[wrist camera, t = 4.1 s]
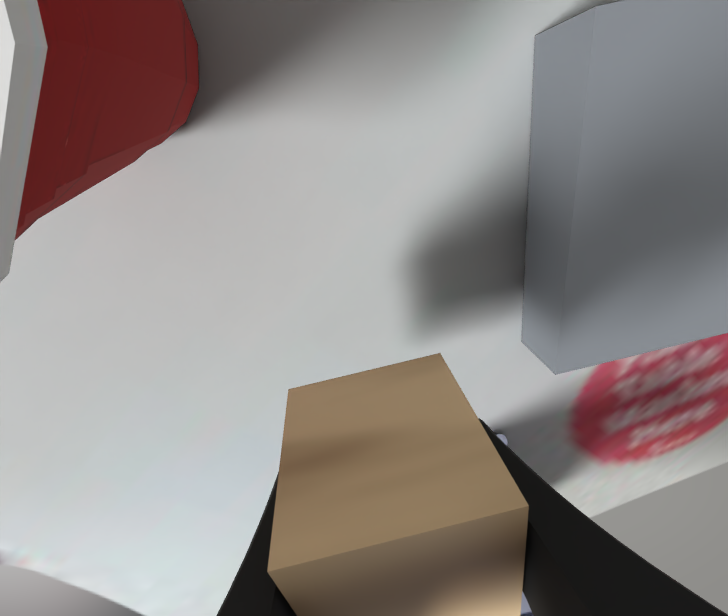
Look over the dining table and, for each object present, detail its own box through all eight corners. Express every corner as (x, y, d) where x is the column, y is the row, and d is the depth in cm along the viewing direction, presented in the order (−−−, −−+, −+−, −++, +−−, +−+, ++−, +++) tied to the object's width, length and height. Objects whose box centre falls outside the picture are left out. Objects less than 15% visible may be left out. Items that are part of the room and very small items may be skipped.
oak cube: (450, 454, 13) (520, 617, 8) (326, 484, 13) (331, 666, 8) (440, 353, 11) (528, 506, 6) (288, 389, 10) (267, 572, 6)
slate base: (751, 286, 19) (822, 309, 16) (521, 341, 19) (555, 374, 16) (886, -41, 12) (1040, -90, 10) (535, 35, 12) (596, 6, 9)
